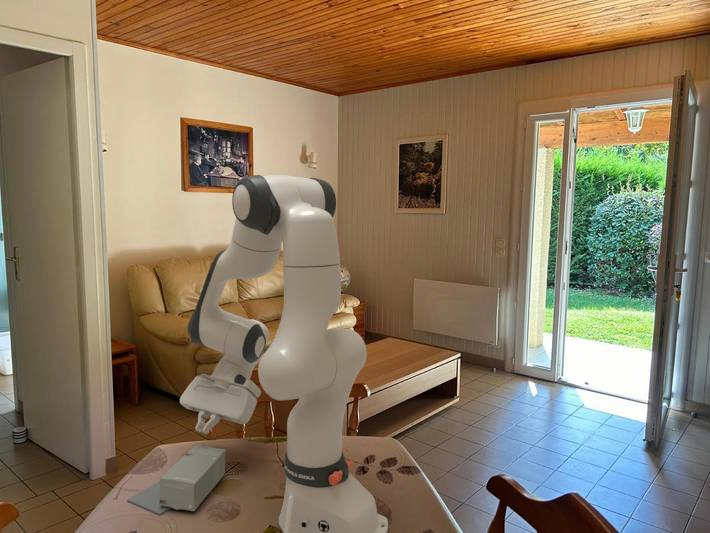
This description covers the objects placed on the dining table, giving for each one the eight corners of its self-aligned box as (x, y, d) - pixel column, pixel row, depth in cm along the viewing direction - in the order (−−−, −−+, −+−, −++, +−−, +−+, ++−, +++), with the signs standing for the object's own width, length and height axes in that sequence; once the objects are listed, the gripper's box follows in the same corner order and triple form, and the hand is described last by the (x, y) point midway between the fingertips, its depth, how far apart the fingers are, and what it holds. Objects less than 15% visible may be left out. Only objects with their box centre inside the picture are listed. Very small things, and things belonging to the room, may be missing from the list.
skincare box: (226, 448, 124) (197, 480, 108) (225, 477, 124) (195, 513, 108) (192, 444, 125) (158, 475, 109) (191, 473, 125) (157, 507, 110)
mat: (212, 482, 121) (212, 480, 121) (159, 515, 108) (159, 513, 108) (181, 470, 126) (180, 468, 126) (127, 501, 113) (127, 499, 113)
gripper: (191, 366, 134) (162, 416, 127) (254, 381, 124) (226, 436, 117) (205, 378, 138) (177, 427, 131) (266, 393, 129) (240, 447, 121)
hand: (200, 432), depth 124 cm, fingers closed
